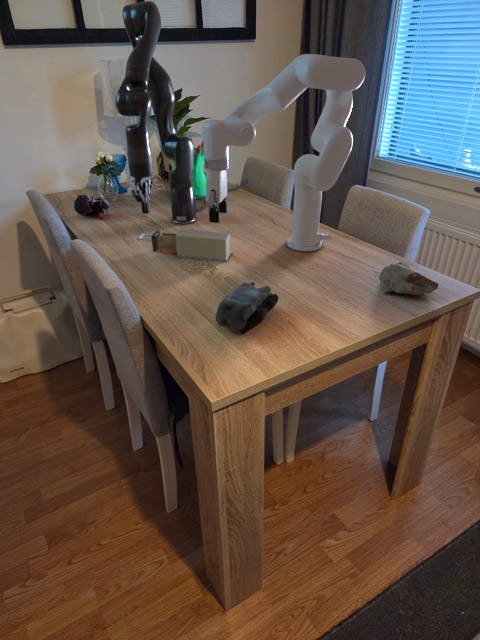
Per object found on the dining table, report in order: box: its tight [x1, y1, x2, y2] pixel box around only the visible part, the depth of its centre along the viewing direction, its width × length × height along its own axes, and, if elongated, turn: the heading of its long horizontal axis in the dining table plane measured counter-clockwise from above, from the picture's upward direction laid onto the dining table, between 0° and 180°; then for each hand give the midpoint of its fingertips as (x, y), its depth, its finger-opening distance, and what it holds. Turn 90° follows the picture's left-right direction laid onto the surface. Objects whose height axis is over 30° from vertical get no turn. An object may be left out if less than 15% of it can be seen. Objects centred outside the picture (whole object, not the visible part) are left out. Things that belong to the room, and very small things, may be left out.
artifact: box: [378, 261, 439, 296], centre depth 132 cm, size 18×7×15 cm
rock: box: [215, 281, 279, 335], centre depth 115 cm, size 18×11×8 cm, turn 152°
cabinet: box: [175, 228, 231, 262], centre depth 153 cm, size 18×6×8 cm, turn 78°
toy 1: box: [73, 194, 111, 220], centre depth 187 cm, size 12×9×15 cm
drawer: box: [136, 230, 177, 253], centre depth 155 cm, size 22×5×6 cm, turn 78°
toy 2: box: [168, 137, 206, 200], centre depth 210 cm, size 20×20×25 cm
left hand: (145, 212), depth 151 cm, fingers closed
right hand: (218, 217), depth 146 cm, fingers open, 9 cm apart
